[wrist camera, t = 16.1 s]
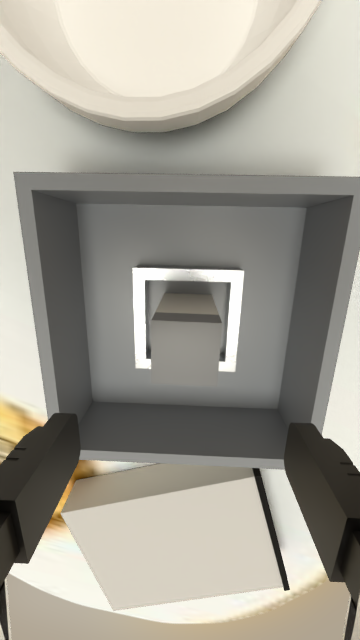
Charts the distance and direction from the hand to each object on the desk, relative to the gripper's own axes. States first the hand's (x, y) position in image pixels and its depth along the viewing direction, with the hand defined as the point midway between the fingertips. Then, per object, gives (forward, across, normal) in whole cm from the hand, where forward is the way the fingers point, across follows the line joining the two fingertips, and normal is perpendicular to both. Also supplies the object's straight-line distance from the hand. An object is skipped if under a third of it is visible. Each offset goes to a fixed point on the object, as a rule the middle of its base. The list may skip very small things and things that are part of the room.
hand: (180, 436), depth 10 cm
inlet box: (+18, 0, 0) cm, 18 cm away
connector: (+17, 0, 0) cm, 17 cm away
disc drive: (+18, 0, +27) cm, 33 cm away
